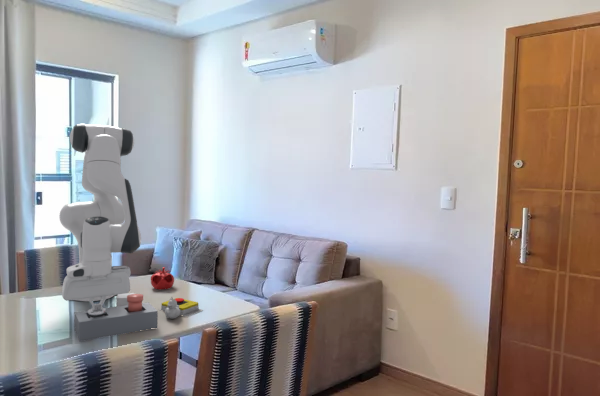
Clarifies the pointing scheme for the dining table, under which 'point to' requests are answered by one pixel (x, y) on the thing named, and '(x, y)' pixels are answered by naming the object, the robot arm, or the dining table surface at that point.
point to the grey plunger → (96, 313)
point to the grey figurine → (172, 309)
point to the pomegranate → (162, 280)
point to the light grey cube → (122, 299)
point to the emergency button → (184, 306)
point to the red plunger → (134, 302)
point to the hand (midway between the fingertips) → (97, 309)
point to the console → (114, 322)
